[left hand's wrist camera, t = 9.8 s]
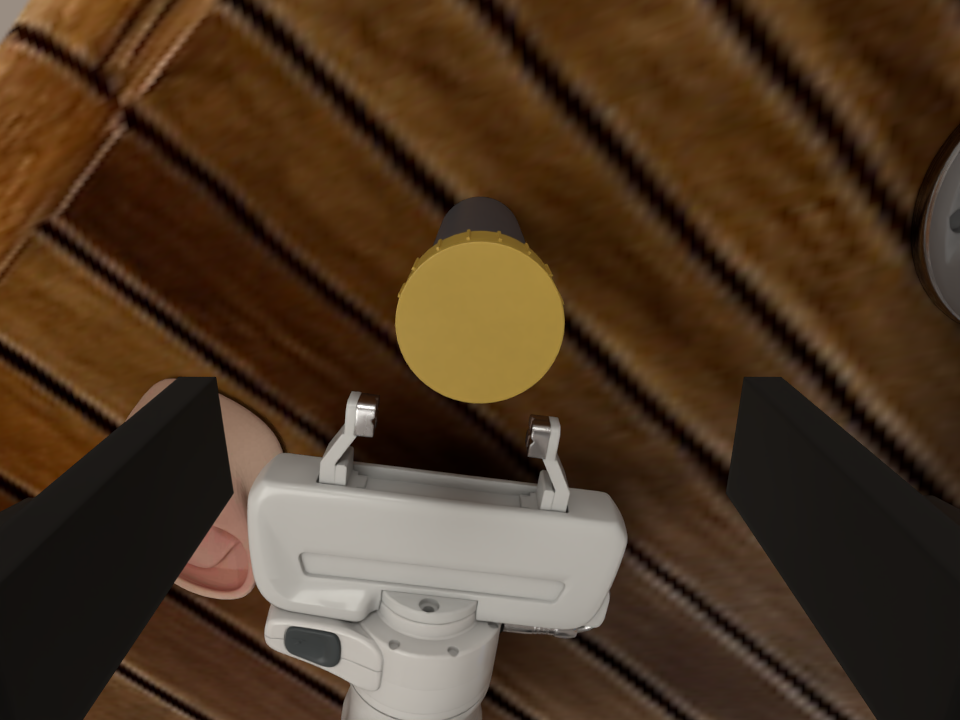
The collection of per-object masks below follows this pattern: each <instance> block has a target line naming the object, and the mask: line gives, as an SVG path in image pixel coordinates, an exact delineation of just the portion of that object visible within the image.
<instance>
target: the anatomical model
mask: <svg viewBox="0 0 960 720" xmlns="http://www.w3.org/2000/svg"><path fill="white" fill-rule="evenodd" d="M175 380H176V379H165V380H162V381H160V382H158V383H156V384H155V385H154V386H152V387H151V388H150V389H149V390H148V391H147V392H146V394H145V395H144V396H143V397H142V398H141V400H140V401H139V402H138V404H137V405H136V406H135V408H134V409H133V410H132V412H131V413H130V415H129V416H128V418H127V420H128V419H129V418H130V417H132V416H133V415H134V414H135V413H136V412H138V411H139V410H140V409H141V408H142V407H144V406H145V405H146V404H147V403H148V402H150V401H151V400H152V399H153V398H154V397H155V396H157V395H158V394H159V393H160V392H161V391H163V390H164V389H165V388H166V387H167V386H169V385H170V384H171V383H172V382H173V381H175ZM219 399H220V406H221V412H222V419H223V425H224V432H225V438H226V445H227V451H228V458H229V464H230V471H231V477H232V484H233V490H234V494H233V495H232V497H231V498H230V500H229V501H228V503H227V504H226V506H225V507H224V509H223V510H222V512H221V513H220V515H219V516H218V518H217V519H216V521H215V522H214V524H213V525H212V527H211V528H210V530H209V531H208V533H207V534H206V536H205V537H204V539H203V540H202V542H201V543H200V545H199V546H198V548H197V549H196V551H195V552H194V554H193V555H192V557H191V558H190V560H189V561H188V563H187V564H186V566H185V567H184V569H183V570H182V572H181V573H180V575H179V576H178V578H177V579H176V581H175V582H174V583H175V584H177V585H179V586H180V587H182V588H184V589H186V590H188V591H191V592H193V593H196V594H199V595H202V596H206V597H211V598H217V599H237V598H241V597H244V596H246V595H247V594H248V593H250V592H251V591H252V589H253V588H254V586H255V584H256V582H255V579H254V576H253V571H252V565H251V558H250V550H249V541H248V525H247V503H248V496H249V492H250V489H251V487H252V485H253V483H254V481H255V479H256V477H257V476H258V474H259V473H260V471H261V470H262V469H263V467H264V466H265V465H266V464H267V463H268V462H270V461H271V460H272V459H273V458H274V457H275V456H277V455H278V454H280V453H283V451H282V448H281V446H280V443H279V441H278V439H277V438H276V436H275V435H274V433H273V432H272V431H271V429H270V428H269V427H268V426H267V425H266V424H265V423H264V422H263V421H262V420H261V419H260V418H258V417H257V416H256V415H254V414H253V413H252V412H250V411H249V410H248V409H246V408H244V407H243V406H241V405H240V404H238V403H236V402H235V401H233V400H231V399H229V398H227V397H225V396H223V395H221V394H219ZM127 420H126V421H127ZM126 421H125V422H126Z"/></svg>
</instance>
